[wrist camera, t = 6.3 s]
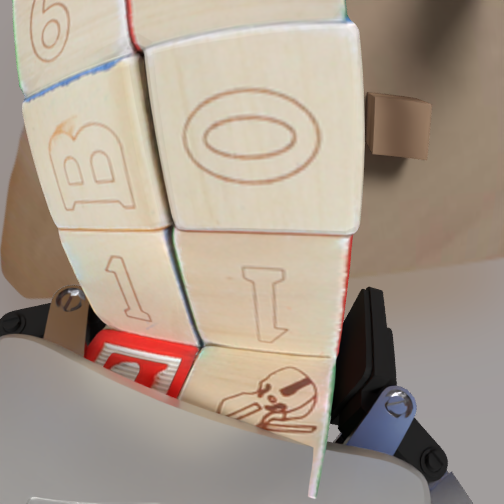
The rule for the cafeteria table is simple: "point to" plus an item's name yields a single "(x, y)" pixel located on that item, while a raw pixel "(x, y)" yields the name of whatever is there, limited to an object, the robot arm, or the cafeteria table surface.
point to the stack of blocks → (205, 191)
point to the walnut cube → (398, 126)
